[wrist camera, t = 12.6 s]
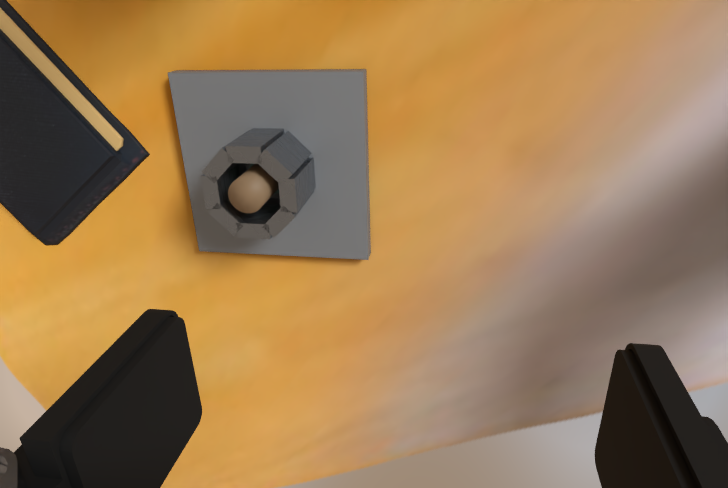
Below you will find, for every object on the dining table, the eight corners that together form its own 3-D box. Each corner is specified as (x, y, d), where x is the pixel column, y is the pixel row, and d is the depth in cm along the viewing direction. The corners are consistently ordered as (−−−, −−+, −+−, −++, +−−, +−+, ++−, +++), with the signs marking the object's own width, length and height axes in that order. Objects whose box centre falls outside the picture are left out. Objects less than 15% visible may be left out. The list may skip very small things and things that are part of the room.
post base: (366, 69, 36) (347, 84, 30) (370, 252, 42) (355, 295, 36) (176, 70, 38) (123, 85, 33) (205, 244, 44) (165, 283, 38)
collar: (312, 129, 37) (291, 147, 33) (317, 213, 40) (299, 240, 36) (226, 127, 38) (195, 145, 34) (237, 209, 41) (210, 236, 37)
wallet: (-156, 69, 42) (-64, -72, 36) (-132, 66, 43) (-40, -69, 38) (38, 260, 47) (145, 163, 41) (52, 250, 48) (158, 156, 42)
